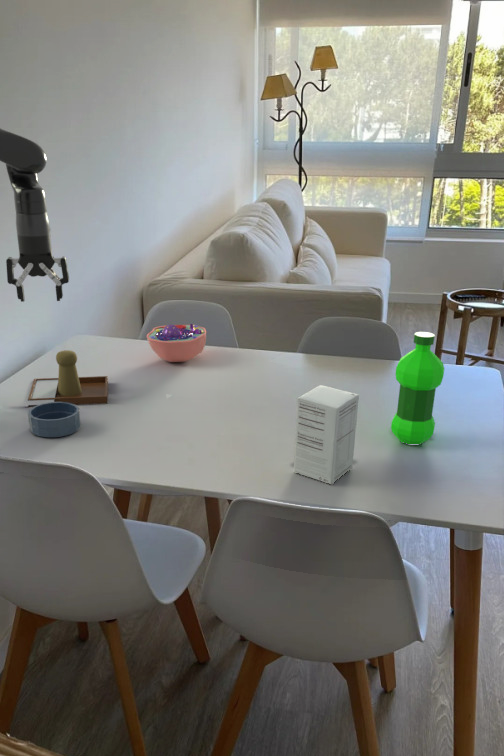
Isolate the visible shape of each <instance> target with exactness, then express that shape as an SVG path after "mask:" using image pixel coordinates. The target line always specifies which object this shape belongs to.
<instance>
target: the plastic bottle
mask: <svg viewBox="0 0 504 756" xmlns="http://www.w3.org/2000/svg"><path fill="white" fill-rule="evenodd" d="M435 336H436V335H435V334H434V333H433V332H428V331H416V332H415V333H414V336H413V337H414V338H413V343H414V344H415V348H414V349H413V350H410V351H409V352H407V353H406V354H405V355H404V356H402V357H400V359H399V361H398V363H397V365H396V368H395V380H396V382H398V384H399V392H398V399H397V400H398V401H397V409H396V412H395V413H394V416H393V418H392V421H391V425H390V429H391V432H392V434H393V435H394V436H395V437H396V438H397V439H398V441H399V442H400V441H401V442H400V443H402V442H404V443H407V444H420V443H422V444H423V443H425V442H428V441H429V440H430V439H431V438H432V436H433V435H434V432H435V426H436V422H435V419H434V416H433V411H434V403H435V397H436V391H437V390H436V389H437V388H438V387H440V386H441V384H442V382H443V379H444V375H445V365H444V362H443V361H442V360H441V358H439V357H438V355H436V354H435V353H434V352H433V351H432V350H431V347H432V345H434V343H435ZM420 445H421V444H420Z"/></svg>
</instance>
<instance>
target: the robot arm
mask: <svg viewBox="0 0 504 756" xmlns="http://www.w3.org/2000/svg"><path fill="white" fill-rule="evenodd" d="M0 162H1V163H3V164H5V167H6V172H7V176H8V179H9V182H10V186H11V189H12V191H13V201H14V209H15V210H14V211H15V227H16V236H17V237H16V238H17V245H18V251H19V252H18V254H19V255H18V258H17V257H16V258H14V257H12V256H8V257H7V259H6V261H5V263H6V265H5V266H6V278H7V279H6V280H7V283H8V284H9V285H14V286H15V288H16V295H17V299H18V300H20V302H23V303H24V302H25V301H26V298H25V290H24V284H23V282H24V281H25V279H26V278H27V277H28V276H30V277H32V278H33V277H46V276H47V277H49V279H50V280H52V281H53V283H54V284H55V295H56V296H55V297H56V301H57V302H61V299H62V300H63V296H64V294H63V293H64V292H63V285H64V284H68V283H69V282H70V275H69V268H68V262H67V257H66V256H62V257H54V255H53V247H52V239H51V227H50V221H49V217H48V209H47V208H48V207H47V199H46V193H45V189H44V188H43V187H42V186H41V185H40V184H39V183H40V182H39V180H38V174H40V173H41V172H43V170H44V169H45V168H46V166H47V155H46V153H45V150H44V149H43V147H41V145H39V144H38V143H37V142H35V141H33V140H31V139H28V138H27V137H25V136H22V135H19V134H16V133H14V132H11V131H8V130H6V129H3V128H1V127H0ZM17 264H18V265H19V266H20V267H21V269H22V272H21V274H20V275H19V277H18V278H15V273H14V268H16V267H17ZM55 264H57V266H58V268H60V269H61V274H62V277H60V276H59V275H58V274H57V273H56V271H55V270H54V269H53V267H54V265H55Z"/></svg>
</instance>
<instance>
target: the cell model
mask: <svg viewBox="0 0 504 756" xmlns="http://www.w3.org/2000/svg"><path fill="white" fill-rule="evenodd" d="M146 339H147V342H148V344H149V347H150V349H151V350H152V351H153V352H154V353H155V355H156V356H157V357H159V358H160V359H162V360H163V361H166V362H168V363H183V362H187V361H191V360H193V359H194V358H195V357H197V356H198V355H200V354H201V353H203V351H204V349H205V347H206V341H207V330H206V328H205V327H203V326H199V325H197V324H193V323H190V324H167V325H160V326H155V327H153V328H152V330H150V332H148V333H147V334H146Z"/></svg>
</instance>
